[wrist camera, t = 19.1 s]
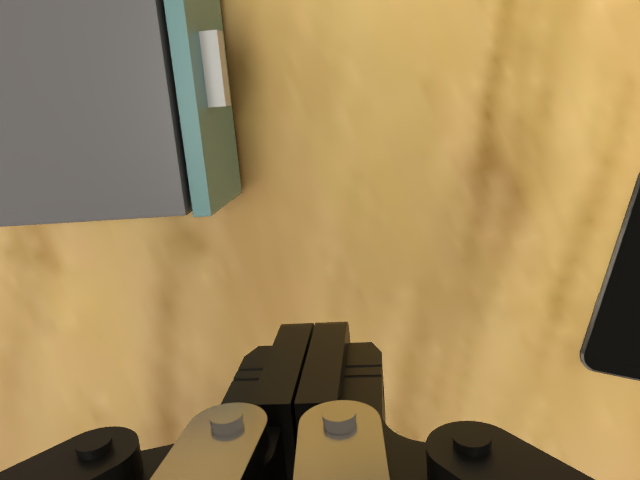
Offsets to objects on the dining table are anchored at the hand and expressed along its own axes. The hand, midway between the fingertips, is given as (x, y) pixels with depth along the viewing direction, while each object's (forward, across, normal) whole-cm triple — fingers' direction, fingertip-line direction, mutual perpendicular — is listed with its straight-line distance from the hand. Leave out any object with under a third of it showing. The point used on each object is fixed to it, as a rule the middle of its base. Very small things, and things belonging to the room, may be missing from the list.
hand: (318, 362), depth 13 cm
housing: (+27, +16, -8) cm, 32 cm away
